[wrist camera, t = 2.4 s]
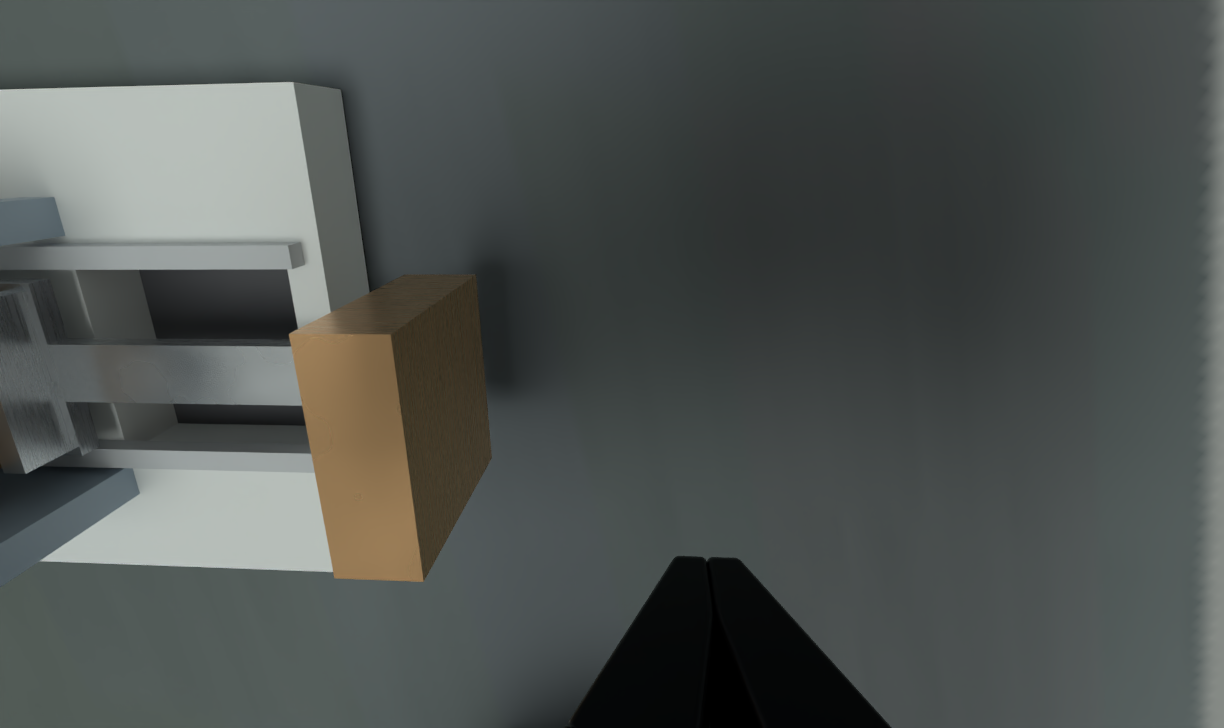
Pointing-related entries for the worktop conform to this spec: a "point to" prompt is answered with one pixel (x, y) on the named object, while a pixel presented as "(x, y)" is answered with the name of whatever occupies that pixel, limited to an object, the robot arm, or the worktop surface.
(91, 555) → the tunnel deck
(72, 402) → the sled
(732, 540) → the worktop surface
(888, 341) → the worktop surface
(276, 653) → the worktop surface
